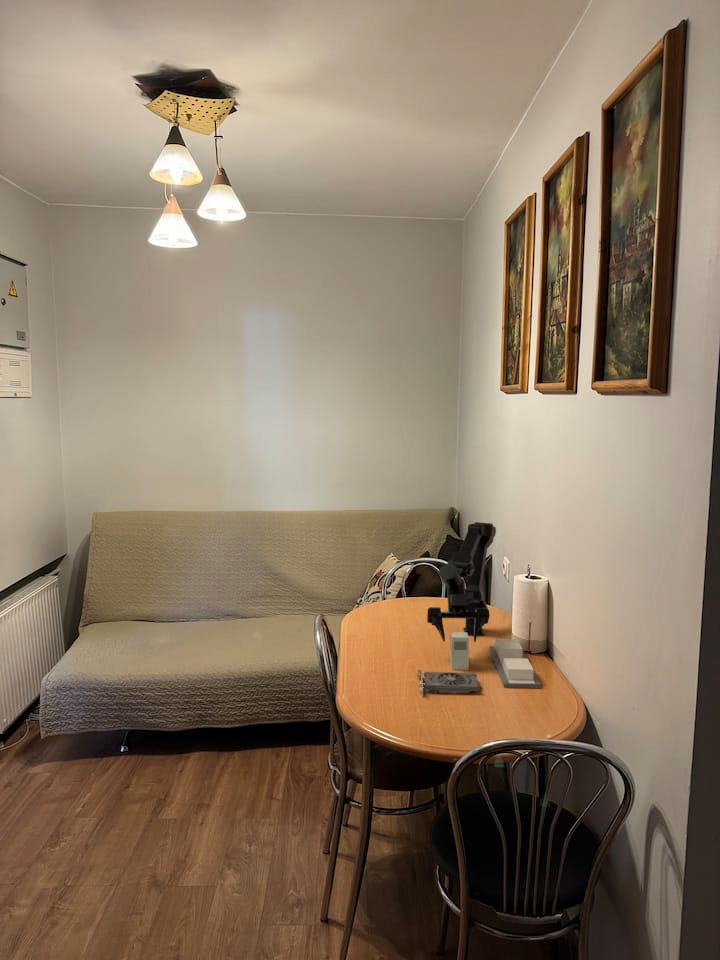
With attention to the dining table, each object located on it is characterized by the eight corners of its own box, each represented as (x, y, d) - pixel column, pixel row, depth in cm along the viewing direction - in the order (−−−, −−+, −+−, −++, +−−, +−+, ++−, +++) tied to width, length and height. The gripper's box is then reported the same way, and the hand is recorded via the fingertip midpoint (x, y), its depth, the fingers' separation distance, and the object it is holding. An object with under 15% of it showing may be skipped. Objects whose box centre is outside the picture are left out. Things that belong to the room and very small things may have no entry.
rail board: (489, 649, 203) (489, 636, 202) (520, 650, 202) (520, 637, 202) (504, 687, 175) (504, 672, 174) (540, 688, 174) (540, 673, 174)
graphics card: (418, 687, 169) (417, 667, 181) (418, 700, 169) (417, 680, 181) (482, 689, 168) (476, 669, 179) (481, 702, 168) (476, 682, 180)
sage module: (450, 663, 192) (450, 632, 191) (466, 663, 191) (467, 632, 190) (451, 670, 187) (452, 637, 186) (468, 670, 187) (468, 637, 186)
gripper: (427, 581, 192) (429, 628, 182) (489, 582, 191) (494, 630, 181) (426, 599, 201) (427, 645, 191) (485, 600, 200) (489, 646, 190)
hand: (459, 641), depth 188 cm, fingers open, 9 cm apart
